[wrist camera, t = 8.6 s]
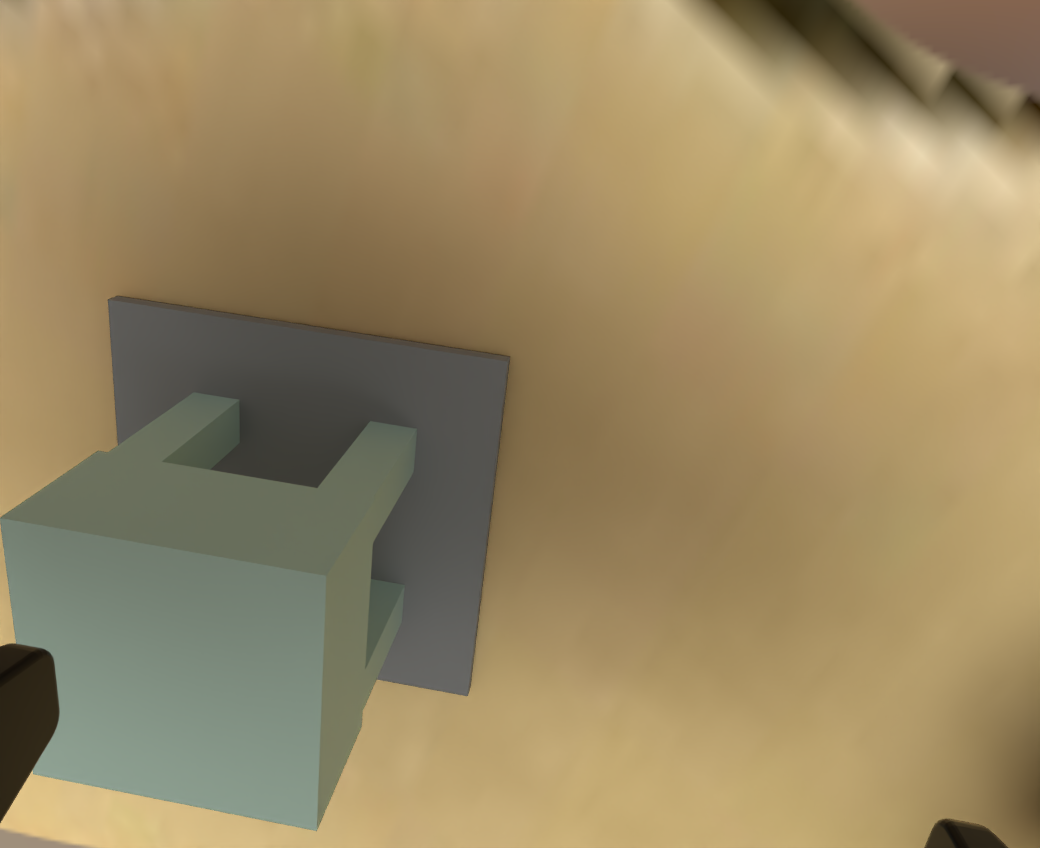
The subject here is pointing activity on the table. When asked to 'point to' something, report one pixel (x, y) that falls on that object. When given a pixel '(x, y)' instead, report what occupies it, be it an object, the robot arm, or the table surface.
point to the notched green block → (208, 614)
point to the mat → (344, 444)
